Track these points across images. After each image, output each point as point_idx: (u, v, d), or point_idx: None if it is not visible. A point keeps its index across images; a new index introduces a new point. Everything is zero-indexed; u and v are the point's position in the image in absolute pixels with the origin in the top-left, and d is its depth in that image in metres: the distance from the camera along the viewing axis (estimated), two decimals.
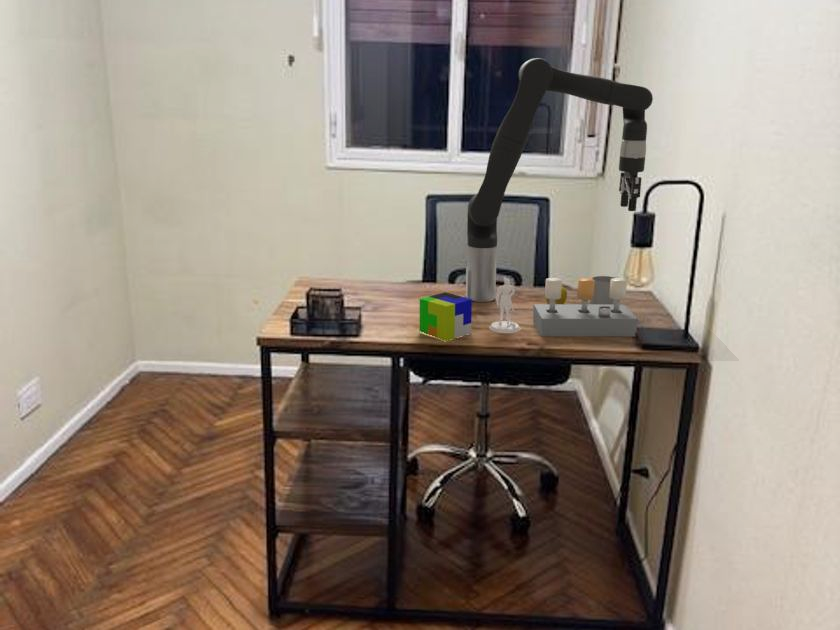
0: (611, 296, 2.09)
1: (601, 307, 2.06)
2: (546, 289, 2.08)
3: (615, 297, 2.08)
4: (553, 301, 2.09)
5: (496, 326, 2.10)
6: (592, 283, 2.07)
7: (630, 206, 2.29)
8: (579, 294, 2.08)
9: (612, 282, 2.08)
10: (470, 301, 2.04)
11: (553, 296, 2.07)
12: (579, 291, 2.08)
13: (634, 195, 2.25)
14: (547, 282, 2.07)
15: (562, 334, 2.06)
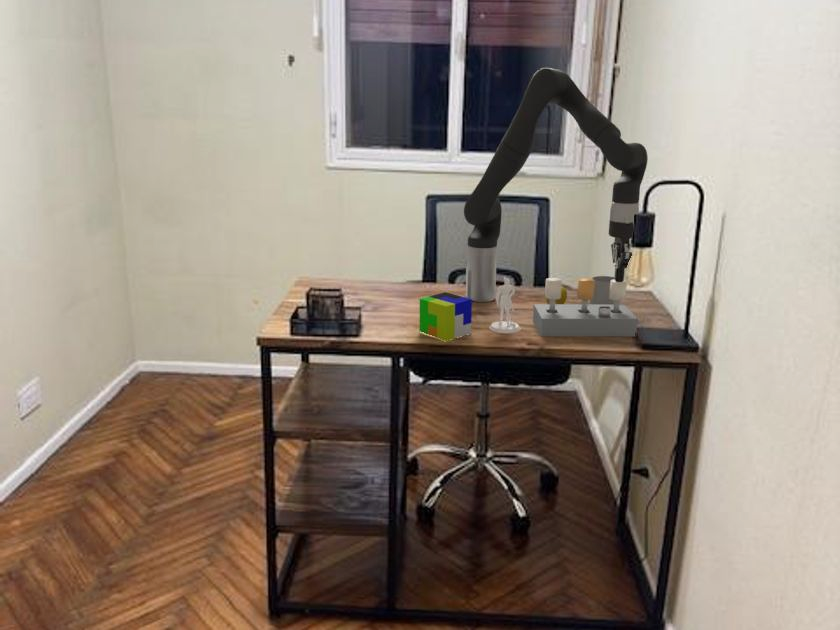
0: (611, 297, 2.09)
1: (601, 307, 2.06)
2: (546, 289, 2.08)
3: (615, 298, 2.08)
4: (553, 301, 2.09)
5: (496, 326, 2.10)
6: (592, 283, 2.07)
7: (617, 276, 2.07)
8: (579, 294, 2.08)
9: (612, 283, 2.08)
10: (470, 301, 2.04)
11: (553, 296, 2.07)
12: (579, 291, 2.08)
13: (621, 265, 2.04)
14: (547, 282, 2.07)
15: (562, 334, 2.06)
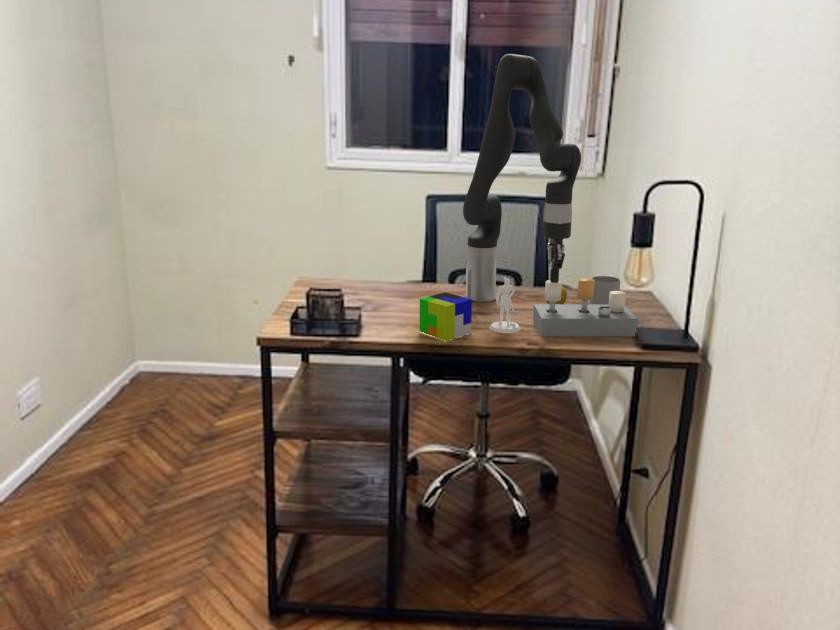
0: None
1: (601, 307, 2.06)
2: (546, 291, 2.09)
3: (614, 310, 2.09)
4: (553, 303, 2.10)
5: (496, 326, 2.10)
6: (592, 283, 2.07)
7: (552, 277, 2.07)
8: (579, 294, 2.08)
9: (611, 295, 2.09)
10: (470, 301, 2.04)
11: (553, 298, 2.08)
12: (579, 291, 2.08)
13: (555, 266, 2.04)
14: (547, 284, 2.08)
15: (562, 334, 2.06)
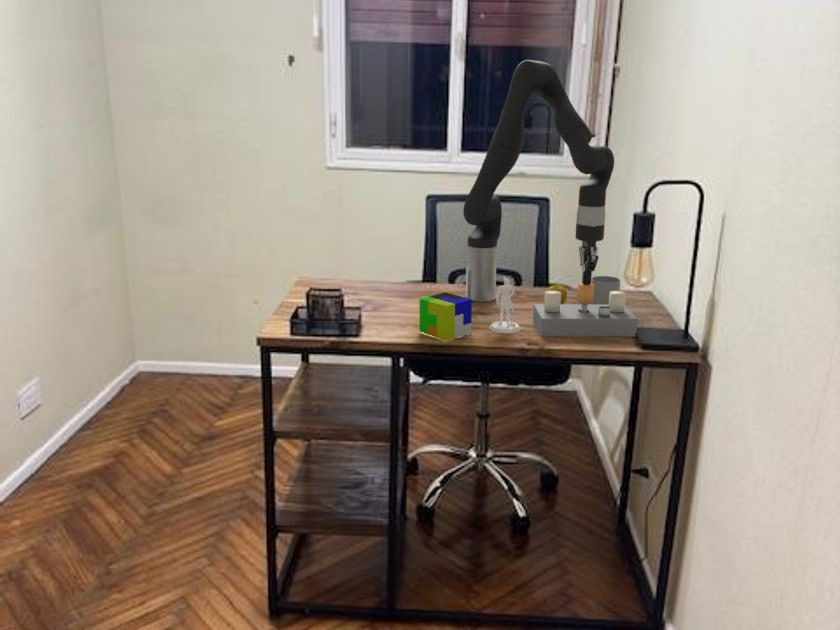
0: None
1: (601, 307, 2.06)
2: (545, 302, 2.09)
3: (614, 310, 2.09)
4: None
5: (496, 326, 2.10)
6: (592, 287, 2.07)
7: (584, 280, 2.07)
8: (579, 298, 2.09)
9: (611, 295, 2.09)
10: (470, 301, 2.04)
11: (552, 309, 2.09)
12: (579, 296, 2.09)
13: (588, 268, 2.04)
14: (546, 295, 2.09)
15: (562, 334, 2.06)
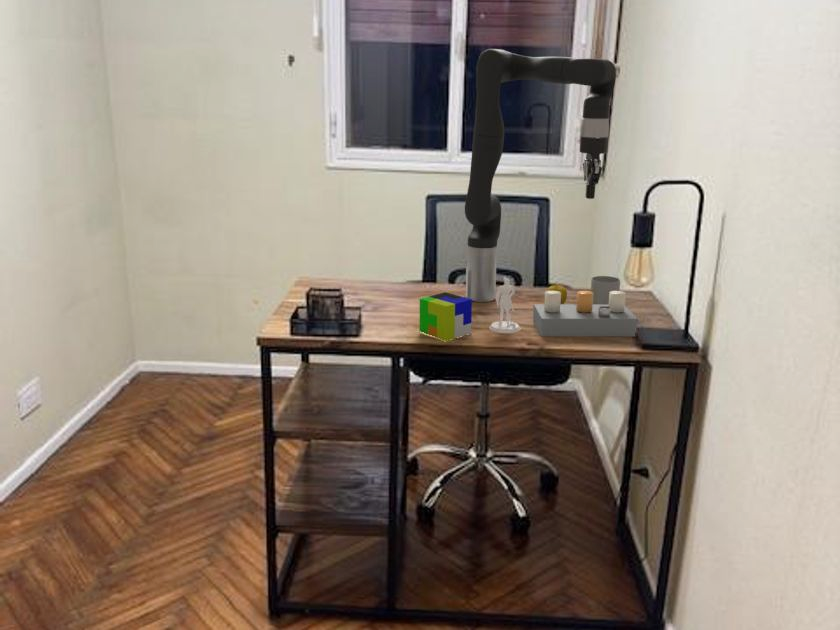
0: None
1: (601, 307, 2.06)
2: (545, 302, 2.09)
3: (614, 310, 2.09)
4: None
5: (496, 326, 2.10)
6: (591, 296, 2.08)
7: (588, 193, 2.12)
8: (578, 307, 2.10)
9: (611, 295, 2.09)
10: (470, 301, 2.04)
11: (552, 309, 2.09)
12: (578, 304, 2.09)
13: (592, 181, 2.08)
14: (546, 295, 2.09)
15: (562, 334, 2.06)
